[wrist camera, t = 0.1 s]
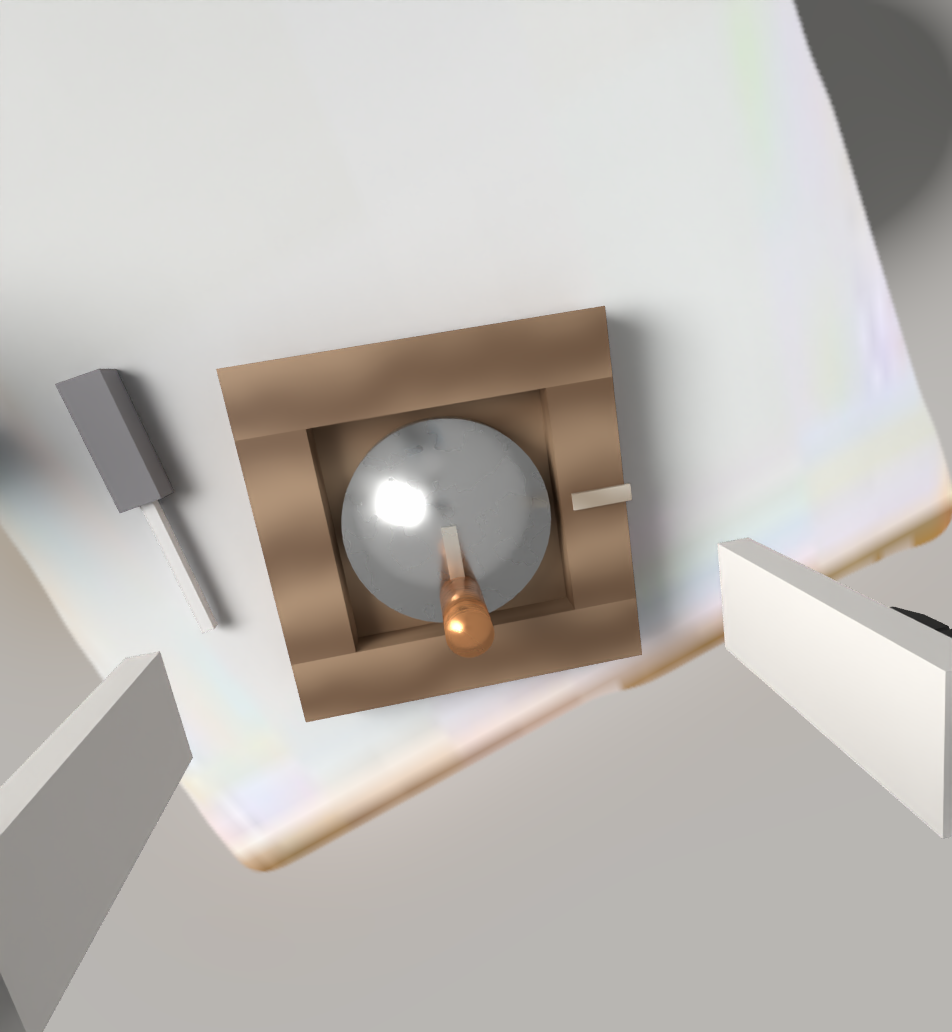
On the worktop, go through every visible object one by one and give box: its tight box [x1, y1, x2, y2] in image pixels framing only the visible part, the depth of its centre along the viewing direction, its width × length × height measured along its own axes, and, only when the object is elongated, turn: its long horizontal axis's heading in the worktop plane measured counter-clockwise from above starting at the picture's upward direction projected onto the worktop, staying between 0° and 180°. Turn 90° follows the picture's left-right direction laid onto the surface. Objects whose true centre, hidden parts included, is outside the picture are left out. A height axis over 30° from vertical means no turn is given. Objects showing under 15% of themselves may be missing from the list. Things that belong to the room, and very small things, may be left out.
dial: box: [341, 416, 551, 658], centre depth 36 cm, size 13×13×8 cm
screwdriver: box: [55, 369, 218, 633], centre depth 40 cm, size 17×3×2 cm, turn 19°
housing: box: [216, 306, 642, 722], centre depth 40 cm, size 22×22×5 cm
